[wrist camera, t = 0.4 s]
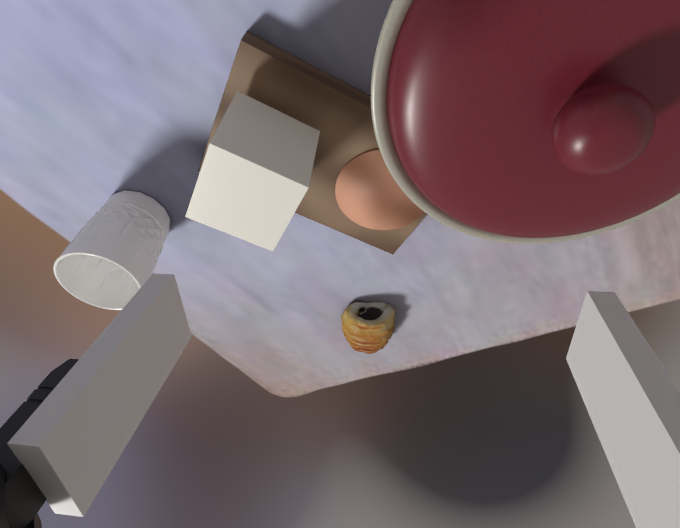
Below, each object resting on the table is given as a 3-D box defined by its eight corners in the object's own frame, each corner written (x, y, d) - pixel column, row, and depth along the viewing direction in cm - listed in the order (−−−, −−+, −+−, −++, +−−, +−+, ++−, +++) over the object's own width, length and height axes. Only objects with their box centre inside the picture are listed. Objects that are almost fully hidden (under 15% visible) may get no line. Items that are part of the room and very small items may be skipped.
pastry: (390, 343, 63) (390, 367, 60) (342, 340, 63) (339, 364, 60) (396, 300, 56) (396, 324, 53) (342, 296, 56) (339, 321, 54)
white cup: (120, 171, 45) (71, 238, 38) (189, 216, 48) (156, 285, 41) (90, 213, 49) (41, 281, 42) (155, 252, 53) (120, 320, 46)
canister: (690, 3, 31) (965, 178, 16) (461, 150, 40) (505, 347, 26) (586, -305, 22) (984, -527, 7) (323, -25, 32) (268, 122, 17)
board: (246, 30, 34) (211, 87, 27) (469, 148, 40) (486, 220, 33) (204, 159, 43) (169, 227, 36) (392, 241, 49) (394, 314, 42)
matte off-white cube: (237, 90, 34) (209, 143, 29) (320, 131, 36) (308, 187, 31) (212, 160, 39) (185, 216, 33) (287, 192, 41) (272, 251, 35)
